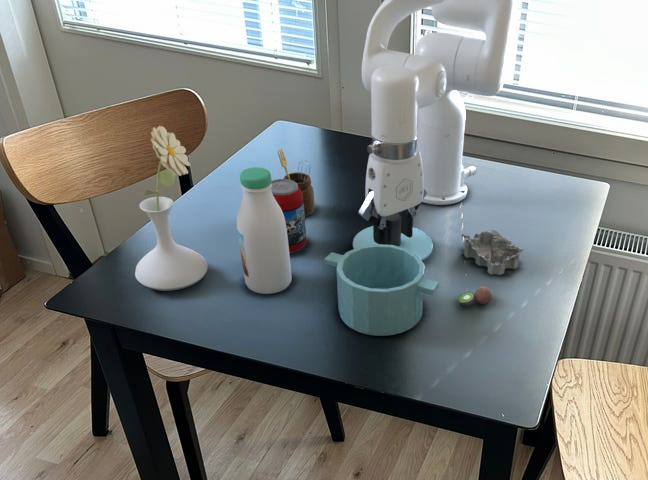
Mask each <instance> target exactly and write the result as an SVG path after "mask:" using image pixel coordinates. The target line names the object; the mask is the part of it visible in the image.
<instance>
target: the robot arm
mask: <svg viewBox="0 0 648 480" xmlns="http://www.w3.org/2000/svg"><path fill="white" fill-rule="evenodd" d="M430 7H431V9H430V10H431V14H432V17H433V18H434V20H435V21H437V22H438V23H440V24H442V25H445V26H449V27H455V28H459V29H465V30H471V31H477V32H482V33H484V34H485V39H480V38H475V37H469V36H468V37H467V36H465V35H460V34H459V35H458V34H453V33H445V32H429V33H426V34H424V35H423V36H422V37H420V39H419V40H418V41H417V42H416V45H415V49H414V54H413V53H409V52H403V51H397V50H392V49H388V47H389V42H390V39H391V36H392V34H393V32H394V30H395V29H396V27H397V26H398V25H399V24H400V23H401V22H402V21H403V20H405V18H407V17H409V16H410V15H412V14H415V13H416V12H419V11H422V10H424V9H427V8H430ZM518 7H519V0H383V1H382V3H380V5H379V6H378V8H377V10H376V11H375V13H374V15H373V16H372V18H371V19H370V23H369V25H368V27H367V30H366V37H365V42H364V46H363V47H364V49H363V55H362V59H361V81H362V85H363V87H364V89H365V90H366V91H367V92H368V93H370V99H371V100H370V101H371V102H370V103H371V105H370V106H371V108H370V109H371V112H370V114H371V115H370V117H371V118H370V119H371V144H369V145H367V148H366V150H367V153H368V154H369V155H368V160H367V166H366V173H365V174H366V175H365V193H364V195H365V196H364V197H365V199H364V201H363V203H362V205H361V207H360V208H359V210H358V212H357V214H358V216H359V217H361V218H363V219H364V220H366V221H368V223H370V224H372V226H373V238H374V242H376V243H377V244H383V245H387V228H386V227H385V223H386V219H387V216H389V215H392V214H395V213H396V214H399V215H400V216H401V217H402V219H401V233H402V234H404V235H405V236H407V237H409V238H410V237H412V233H413V227H414V218H415V217H416V216H417V210H418V208H419V207H420V206H421V203H425V204H428V205H434V206H446V205H447V206H448V205H452V204H456V203H459V202H461V201H463V200H464V199H465V198H466V197H467V194H468V187H467V185H466V183H465V180H467V178H468V177H469V178H470V177H473V176H474V175H476V174H477V168H476V167H475V166H474V165H471V166H468V167H466V168H465V167H464V165H463V155H464V143H465V141H464V140H465V127H466V116H467V115H466V114H467V113H466V107H465V104H464V103H465V102H464V101H463V99H462V96H461V95H460V93H466V94H471V95H476V96H482V97H493V96H496V95H498V93H500V91H502V88H503V86H504V83H505V79H506V75H507V71H508V66H509V59H510V53H511V48H512V42H513V37H514V32H515V27H516V21H517V15H518V14H517V13H518V10H519V9H518ZM459 92H460V93H459Z"/></svg>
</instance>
